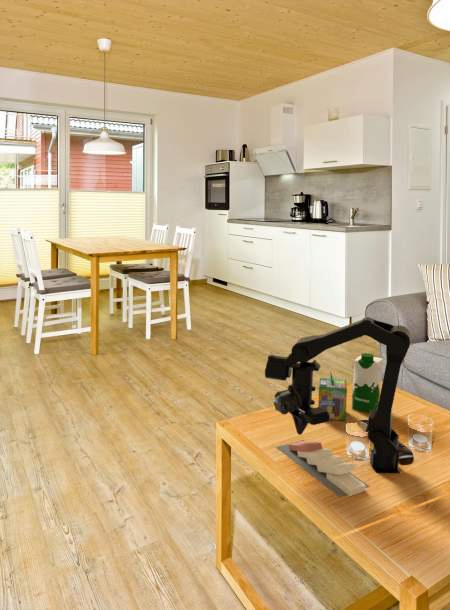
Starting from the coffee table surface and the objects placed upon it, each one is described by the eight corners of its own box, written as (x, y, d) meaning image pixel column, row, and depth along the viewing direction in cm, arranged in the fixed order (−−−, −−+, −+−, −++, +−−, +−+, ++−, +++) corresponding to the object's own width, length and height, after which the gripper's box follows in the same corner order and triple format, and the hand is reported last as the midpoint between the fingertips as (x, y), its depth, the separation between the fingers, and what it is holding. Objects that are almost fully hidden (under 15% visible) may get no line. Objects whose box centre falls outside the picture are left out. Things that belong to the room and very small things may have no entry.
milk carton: (348, 409, 176) (352, 354, 172) (357, 400, 183) (360, 348, 179) (373, 415, 171) (378, 359, 167) (381, 406, 179) (385, 352, 174)
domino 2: (297, 451, 143) (316, 453, 135) (311, 447, 145) (330, 449, 137) (298, 456, 143) (317, 459, 135) (312, 452, 145) (332, 455, 137)
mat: (275, 448, 148) (275, 447, 148) (303, 441, 153) (303, 439, 153) (339, 498, 124) (339, 496, 124) (370, 487, 129) (370, 486, 129)
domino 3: (306, 458, 139) (326, 460, 131) (320, 454, 142) (341, 456, 134) (307, 464, 139) (327, 466, 131) (322, 459, 141) (342, 462, 133)
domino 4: (316, 465, 135) (338, 468, 127) (331, 460, 138) (353, 463, 130) (317, 471, 135) (339, 474, 127) (332, 466, 137) (354, 469, 130)
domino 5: (326, 472, 132) (350, 490, 124) (341, 468, 134) (365, 485, 126) (326, 478, 132) (349, 496, 124) (341, 473, 134) (365, 490, 127)
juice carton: (345, 421, 166) (348, 379, 163) (317, 419, 168) (319, 377, 165) (344, 410, 175) (347, 369, 172) (317, 408, 177) (320, 367, 174)
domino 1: (288, 444, 147) (306, 446, 139) (302, 440, 149) (321, 442, 141) (289, 450, 146) (307, 452, 138) (303, 446, 149) (322, 448, 141)
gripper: (260, 376, 146) (258, 426, 150) (298, 399, 130) (296, 455, 134) (291, 370, 152) (289, 419, 155) (332, 392, 135) (329, 445, 139)
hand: (299, 433), depth 145 cm, fingers closed
